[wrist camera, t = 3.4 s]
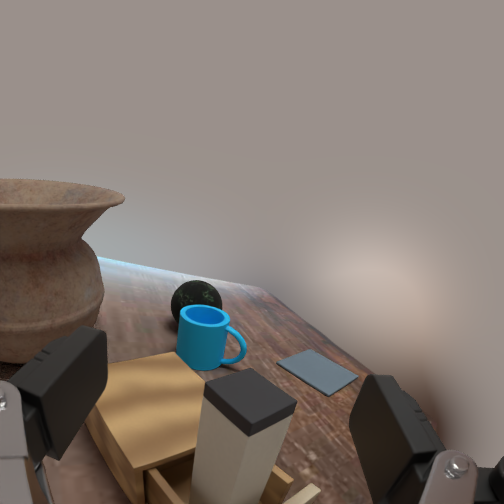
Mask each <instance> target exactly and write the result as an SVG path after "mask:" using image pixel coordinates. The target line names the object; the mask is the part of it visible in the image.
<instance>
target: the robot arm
mask: <svg viewBox="0 0 504 504" xmlns="http://www.w3.org/2000/svg"><path fill="white" fill-rule="evenodd" d="M107 380H108V360H107V337H106V333H105V332H104V331H102V330H98V329H94V328H91V327H87V326H84V325H81V326H80V327H78V328H77V329H76V330H75V331H74V332H73V333H72V334H71V335H70V336H69V337H67V336H63V337H60V338H58V339H55V340H53V341H51V342H50V343H48V344H47V345H46V346H45V347H44V348H43V349H42V350H41V352H40V351H39V352H38V353H37V354H36V355H35V356H34V358H33V359H31V360H29V361H28V362H27V363H26V364H25V365H24V366H23V367H22V368H21V369H20V370H19V371H17V372H16V373H15V374H14V375H13V376H12V377H11V378H10V379H9V380H8V381H7V382H6V381H1V380H0V504H55V503H54V500H53V496H52V493H51V489H50V486H49V482H48V478H47V474H46V470H45V466H44V464H43V461H42V460H43V458H44V457H45V455H47V456H49V457H52V458H54V459H56V460H58V461H60V459H61V457H62V456H63V454H64V453H65V451H66V449H67V448H68V446H69V445H70V443H71V441H72V440H73V438H74V437H75V435H76V433H77V432H78V430H79V429H80V427H81V426H82V424H83V423H84V421H85V419H86V418H87V416H88V415H89V413H90V412H91V410H92V409H93V407H94V406H95V404H96V403H97V401H98V399H99V398H100V396H101V395H102V393H103V392H104V390H105V388H106V385H107ZM349 428H350V432H351V435H352V438H353V441H354V444H355V447H356V450H357V453H358V456H359V460H360V463H361V466H362V469H363V472H364V475H365V478H366V481H367V485H368V488H369V491H370V494H371V497H372V501H373V504H504V456H503V457H502V458H501V460H500V461H499V462H498V464H497V465H496V466H495V468H481V467H477V465H476V463H475V462H474V461H473V459H472V458H471V457H469V456H468V455H466V454H464V453H462V452H460V451H456V450H446V449H445V447H444V445H443V443H442V442H441V440H440V439H439V437H438V436H437V434H436V432H435V430H434V429H433V427H432V426H431V424H430V422H429V421H427V418H426V416H425V414H424V413H422V410H421V408H420V407H419V405H418V404H417V402H416V400H415V399H413V398H412V397H411V396H410V395H409V394H407V393H406V392H405V391H402V390H401V388H400V387H399V385H398V384H397V382H396V380H395V379H394V377H393V376H391V375H374V374H370V375H368V376H367V377H366V378H365V380H364V383H363V385H362V388H361V390H360V393H359V395H358V397H357V400H356V402H355V404H354V407H353V409H352V411H351V414H350V419H349Z"/></svg>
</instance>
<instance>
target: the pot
mask: <svg viewBox="0 0 504 504" xmlns="http://www.w3.org/2000/svg"><path fill="white" fill-rule="evenodd" d="M124 200H125V197H124V196H123V195H122V194H120V193H118V192H116V191H113V190H109V189H105V188H100V187H95V186H90V185H83V184H76V183H67V182H59V181H46V180H30V179H0V361H2V362H7V363H22V364H23V363H27V362H28V361H29V360H31V359H33V358H34V356H35V355H36V354H37V353H38V352H39V351H40V352H41V350H42V349H43V348H44V347H45V346H46V345H47V344H48V343H50V342H51V341H53V340H55V339H58V338H60V337H63V336H67V337H69V336H70V335H71V334H72V333H73V332H74V331H75V330H76V329H77V328H78V327H80V326H81V325H84V326H87V327H91V328H92V327H93V326H94V324H95V322H96V319H97V316H98V313H99V309H100V305H101V303H102V301H103V297H104V292H105V291H104V285H103V282H102V277H101V272H100V267H99V263H98V260H97V257H96V255H95V253H94V251H93V250H92V248H91V247H90V246H89V245H88V244H87V243H86V242H85V241H84V240H82V238H81V237H82V236H83V234H84V232H85V231H86V230H87V229H88V228H89V227H90V226H91V225H92V224H93V223H94V222H95V221H96V220H97V219H98V218H99V217H100V216H101V215H102V214H103V213H104V212H105V211H106V210H107V209H108V208H110V207H113V206H117V205H119V204H122V203H123V202H124Z"/></svg>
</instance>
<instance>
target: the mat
mask: <svg viewBox="0 0 504 504" xmlns="http://www.w3.org/2000/svg"><path fill="white" fill-rule="evenodd" d="M276 364H278V365H279V366H281V367H282V368H284V369H285V370H287V371H288V372H290V373H291V374H293V375H295V376H296V377H298V378H299V379H301V380H302V381H304V382H305V383H307V384H309V385H310V386H312V387H313V388H315V389H316V390H318V391H320V392H321V393H323V394H324V395H326V396H328V397H329V396H331V395H332V394H334V393H336V392H337V391H339V390H340V389H342V388H343V387H345V386H346V385H348V384H349V383H351V382H352V381H354V380H355V379H357V378H358V375H356V374H354V373H352V372H350V371H348V370H347V369H345V368H343V367H341V366H339V365H338V364H336V363H334V362H332V361H330V360H329V359H327V358H325V357H323V356H322V355H320V354H318V353H316V352H315V351H313V350H311V349H309V350H306V351H304V352H301V353H298V354H296V355H293V356H291V357H288V358H286V359H283V360H280V361H278V362H277V363H276Z"/></svg>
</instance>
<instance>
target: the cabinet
mask: <svg viewBox="0 0 504 504" xmlns="http://www.w3.org/2000/svg"><path fill="white" fill-rule="evenodd" d="M204 386H205V381H204V380H203V379H201V378H200V377H199V376H198V375H197V374H196V373H195V372H194V371H193V370H192V369H191V368H190V367H189V366H188V365H187V364H186V363H185V362H184V361H183V360H182V359H181V358H180V357H179V356H178V355H177V354H176V353H175V352H169V353H164V354H159V355H154V356H149V357H144V358H138V359H133V360H127V361H122V362H116V363H110V364H108V380H107V385H106V388H105V390H104V392H103V393H102V395H101V396H100V398H99V399H98V401H97V403H96V404H95V406H94V407H93V409H92V410H91V412H90V413H89V415H88V416H87V418H86V419H85V424H86V426H87V428H88V430H89V432H90V434H91V436H92V438H93V440H94V442H95V444H96V445H97V447H98V449H99V451H100V453H101V455H102V456H103V458H104V460H105V462H106V463H107V465H108V467H109V469H110V470H111V472H112V474H113V475H114V477H115V478H116V480H117V482H118V483H119V485H120V486H121V488H122V490H123V491H124V493H125V494H126V496H127V497H128V499H129V500H130V502H131V503H132V504H149V503H148V501H147V500H146V499H145V496H144V484H143V470H147V469H150V468H153V467H156V466H159V465H162V464H164V463H167V462H170V461H173V460H176V459H178V458H181V457H184V456H186V455H189V454H192V453H194V452H195V450H196V442H197V435H198V427H199V420H200V413H201V406H202V399H203V392H204Z"/></svg>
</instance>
